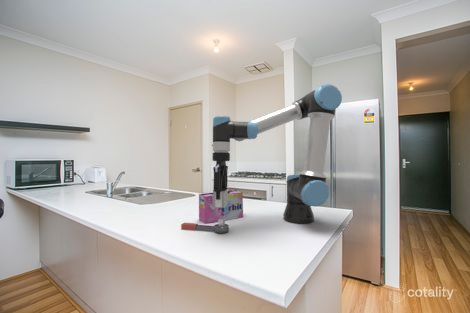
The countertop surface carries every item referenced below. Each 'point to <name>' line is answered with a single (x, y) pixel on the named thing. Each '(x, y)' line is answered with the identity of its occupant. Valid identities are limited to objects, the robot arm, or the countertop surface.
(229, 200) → the gum box
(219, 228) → the ratchet
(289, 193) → the robot arm
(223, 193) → the socket
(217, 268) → the countertop surface
